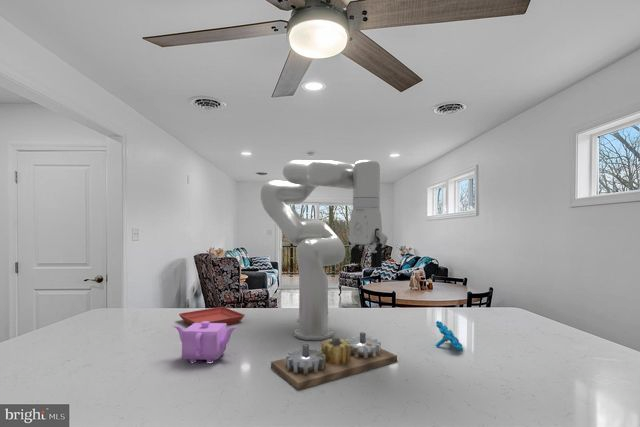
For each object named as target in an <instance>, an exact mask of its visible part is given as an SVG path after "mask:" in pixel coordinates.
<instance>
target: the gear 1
mask: <svg viewBox="0 0 640 427" xmlns="http://www.w3.org/2000/svg"><path fill="white" fill-rule="evenodd" d="M318 351H319V352H318ZM285 359H286V367H287V370H289V371H291V370H293V371H294V373H299V372H302V373H304V374H308V373H309V372H313V373H317V372H318V370H323V369H324V366H325V354H323V352H322V351H321V350H317V349H315V348H312V349H310V345H309V344H307V343H306V344H302V349H294V351H289V352H288V353H287V354H286V355H285Z"/></svg>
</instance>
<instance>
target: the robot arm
mask: <svg viewBox="0 0 640 427" xmlns="http://www.w3.org/2000/svg"><path fill="white" fill-rule="evenodd" d="M282 175H283V177H284V179H285V180H276V179H275V180H269V181H267V182H265V183H264V184H263V185H261V189H260V202H261V205H262V207H263V209H264V211H265V213H266V214H267V215H268V216H269V217H270V219H272V221H274V222H275V224H276V225H277V226H278V228H279V229H280V230H281V232H282V233H283V235H284V236H285V238H286V240H288V241H289V242H290V244H292V245H294V246H296V249H295V254H296V256H295V257H296V262H297V268H298V287H299V288H298V318H297V319H296V323H297V324H298V328H296V329H295V330H294V332H293V333H294V336H295V337H296V338H298V339H301V340H305V341H321V340H322V341H323V340H326V339H330V338H331V337H332V336H333V332H334V331H333V330H332V329H331V328H330V327H329V280H328V276H327V273H326V272H325V269H324V267H326V266H335V265H338V264H340V263H342V262H343V261H344V260H345V258H346V247H345V245H344V243H343V241H342V240H341V238H340V237H339V236H338V235H337V234H336V233H335V231H334V230H333V229H332V228H331V227H330V226H329V225H328V224H327V223H326V222H325V221H324V220H321V219H318V218H307V217H306V218H305V217H302V216H301V215H300V214H299V213H298V212H297V210H296V209H295V208H294V207H292V205H297V204H301V203H303V202H305V201H306V200H307V198H309V197H310V195H311V194H312V193H313V191H315V189H316V188H317V187H319V186H321V187H327V188H328V187H329V188H336V189H337V188H339V189H346V190H347V189H348V190H349V189H350V190H352V209H351V212H350V217H349V218H350V220H349V228H348V233H347V236H346V237H347V240H348V242H347V243H348V245H349V250H350V264H352V265H353V264H355V265H356V264H361V262H362V260H361V259H362V257H361V256H362V253H361V252H362V250H361V249H360V248H361V247H362V246H369V247H370V249H371V250H372V252H371V253H370V257H371V258H370V267H371V268H373V269H375V268H376V269H377V268H382V267H383V253H384V252H385V251H384V249H386V244H387V242H388V240H389V239H388V236H387V235H386V234H384V232H383V223H382V215H381V214H382V213H381V209H380V206H381V205H380V203H381V202H380V200H381V199H380V197H381V194H380V193H381V192H380V191H381V166H380V163H379V161H377V160H373V159H372V160H371V159H363V160H357V161H355V162H354V163H349V162H343V161H338V160H337V161H335V160H318V159H317V160H308V159H306V160H305V159H304V160H302V159H294V160H290V161H288V162H287V163H285V165H284V166H283V169H282Z"/></svg>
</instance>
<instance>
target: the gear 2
mask: <svg viewBox="0 0 640 427" xmlns="http://www.w3.org/2000/svg"><path fill="white" fill-rule="evenodd" d="M346 340H347V341H348V342H350V355H354V356H355V357H357V358H358V357H364V358H368V357H376V355H380V352H381V349H382V348H381V346H382V344H381V341H378V338H371V337H370V336H367V333H366V332H359V336H358V337H354V336H352V337H350V339H348V338H347V339H346Z"/></svg>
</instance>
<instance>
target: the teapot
mask: <svg viewBox="0 0 640 427" xmlns="http://www.w3.org/2000/svg"><path fill="white" fill-rule="evenodd" d="M227 326H228V325H227V324H226V323H210V322H209V321H203V322H201V323H194V324H192V325H189V326H188V327H186V328H185V329H183V327H182V326H181V325H176V324H175V325H172V327H173V328H175V329H176V330H177V332H178V335H179V339H180V342H181V360H189V361H190V362H195V361H196V362H197V361H198V360H204V361H205V360H206V363H207V362H212V361H214V362H215V361H217V360H218V359H219V358H220V357H221V356H222V354H223V353H224V352H225V351H226V350H227V345H228V343H229V341H230V339H231V335H232V332H233V331H234V330H235V329H237V328H239V326H238V325H237V326H235V325H234V326H233V325H232V326H230V327H229V328H227ZM196 362H195V363H196Z"/></svg>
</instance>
